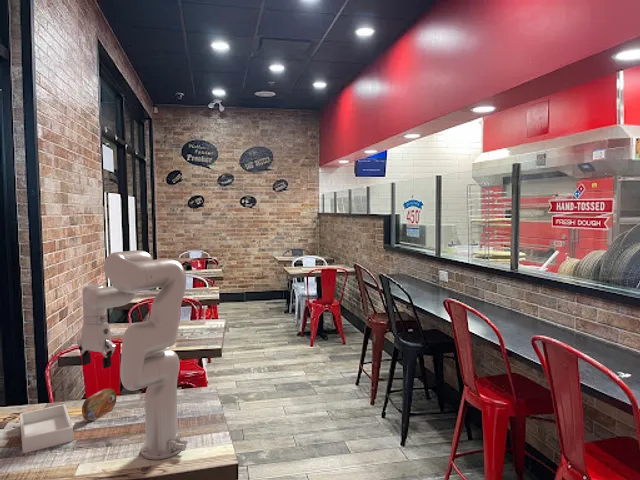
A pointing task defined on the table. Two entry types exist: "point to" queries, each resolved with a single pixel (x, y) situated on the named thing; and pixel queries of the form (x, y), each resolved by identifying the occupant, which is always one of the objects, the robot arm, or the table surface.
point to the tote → (45, 428)
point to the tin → (98, 404)
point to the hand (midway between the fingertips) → (96, 365)
